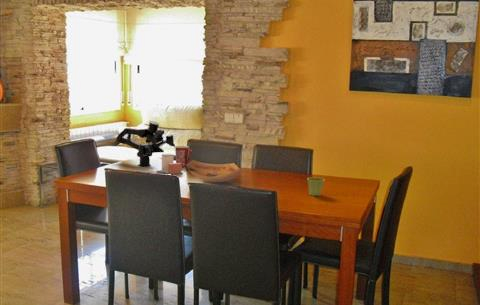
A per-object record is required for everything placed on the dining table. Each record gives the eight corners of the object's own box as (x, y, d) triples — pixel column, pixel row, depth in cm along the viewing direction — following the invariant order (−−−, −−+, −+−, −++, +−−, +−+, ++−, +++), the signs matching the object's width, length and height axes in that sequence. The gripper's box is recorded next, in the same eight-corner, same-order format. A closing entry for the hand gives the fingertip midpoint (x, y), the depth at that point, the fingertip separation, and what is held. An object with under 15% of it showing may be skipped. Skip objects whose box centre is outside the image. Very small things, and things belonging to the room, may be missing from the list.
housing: (157, 172, 309) (157, 161, 308) (170, 170, 315) (170, 159, 314) (169, 175, 299) (169, 164, 298) (182, 174, 305) (182, 163, 304)
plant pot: (311, 192, 270) (312, 176, 268) (327, 195, 264) (328, 179, 263) (302, 194, 263) (303, 178, 261) (318, 197, 257) (319, 181, 255)
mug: (172, 166, 329) (172, 146, 327) (179, 164, 337) (179, 145, 335) (188, 168, 324) (188, 148, 322) (195, 166, 332) (195, 147, 330)
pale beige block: (161, 170, 308) (161, 154, 307) (169, 169, 312) (170, 153, 311) (165, 171, 305) (165, 155, 304) (173, 170, 309) (173, 154, 308)
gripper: (141, 133, 310) (156, 143, 302) (164, 123, 322) (180, 132, 313) (142, 148, 317) (157, 158, 308) (165, 137, 328) (180, 147, 319)
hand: (169, 148), depth 312 cm, fingers open, 9 cm apart
